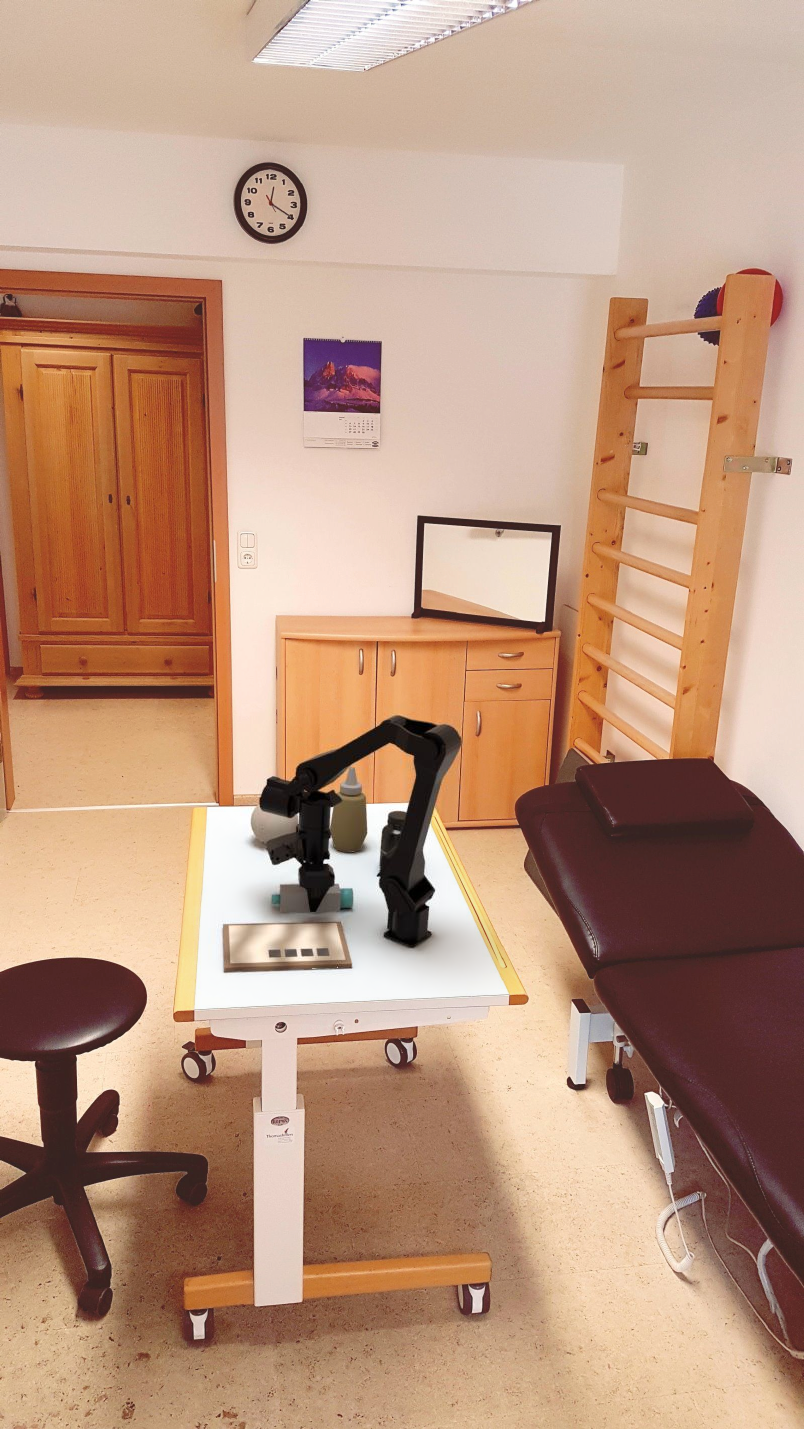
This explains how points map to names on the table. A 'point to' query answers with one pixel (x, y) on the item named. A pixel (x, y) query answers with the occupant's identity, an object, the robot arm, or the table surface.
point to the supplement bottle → (391, 832)
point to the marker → (297, 900)
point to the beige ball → (271, 824)
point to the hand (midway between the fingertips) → (310, 901)
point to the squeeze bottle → (349, 816)
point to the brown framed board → (284, 946)
